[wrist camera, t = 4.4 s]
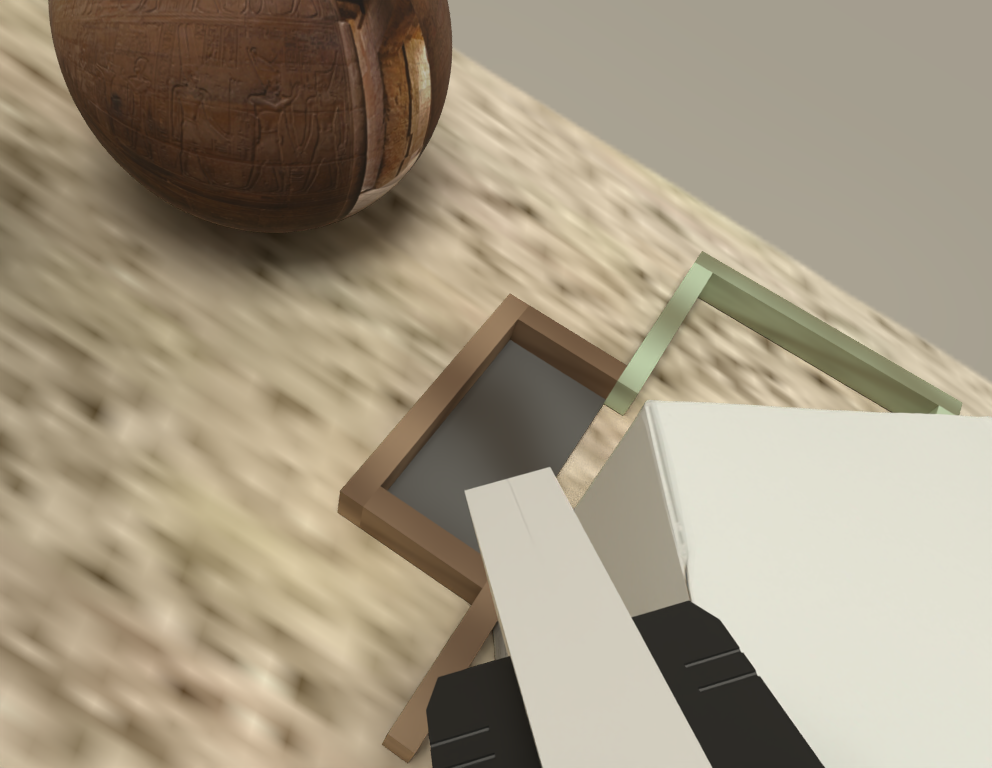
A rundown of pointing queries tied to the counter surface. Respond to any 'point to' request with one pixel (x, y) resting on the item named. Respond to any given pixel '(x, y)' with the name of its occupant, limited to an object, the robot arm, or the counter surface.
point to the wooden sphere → (259, 99)
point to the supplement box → (820, 563)
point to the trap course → (553, 433)
